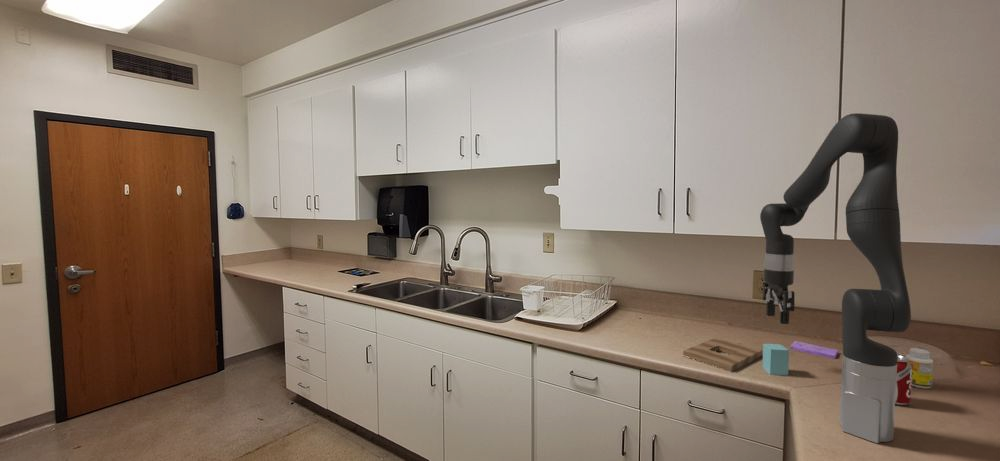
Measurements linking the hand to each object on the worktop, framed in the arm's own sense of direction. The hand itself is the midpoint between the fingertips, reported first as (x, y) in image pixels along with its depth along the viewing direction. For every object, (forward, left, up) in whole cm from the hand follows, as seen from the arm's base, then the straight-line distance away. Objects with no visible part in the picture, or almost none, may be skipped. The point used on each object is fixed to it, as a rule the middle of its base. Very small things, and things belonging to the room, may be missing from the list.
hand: (777, 319), depth 124 cm
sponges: (+30, -1, -17) cm, 35 cm away
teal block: (0, 0, -17) cm, 17 cm away
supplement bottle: (+22, -28, -17) cm, 39 cm away
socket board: (0, +16, -17) cm, 23 cm away
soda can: (+4, -26, -17) cm, 31 cm away
